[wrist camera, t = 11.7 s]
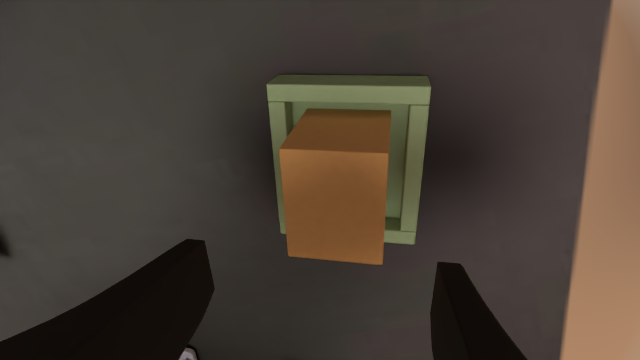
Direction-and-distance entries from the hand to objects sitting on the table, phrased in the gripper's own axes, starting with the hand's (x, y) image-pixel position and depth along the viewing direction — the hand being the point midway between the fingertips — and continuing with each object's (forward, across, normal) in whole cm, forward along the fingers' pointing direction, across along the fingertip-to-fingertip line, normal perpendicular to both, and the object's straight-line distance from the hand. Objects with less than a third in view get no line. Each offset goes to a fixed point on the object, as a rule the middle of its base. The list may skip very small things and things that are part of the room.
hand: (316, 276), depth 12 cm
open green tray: (+9, 0, 0) cm, 9 cm away
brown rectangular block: (+9, 0, 0) cm, 9 cm away
